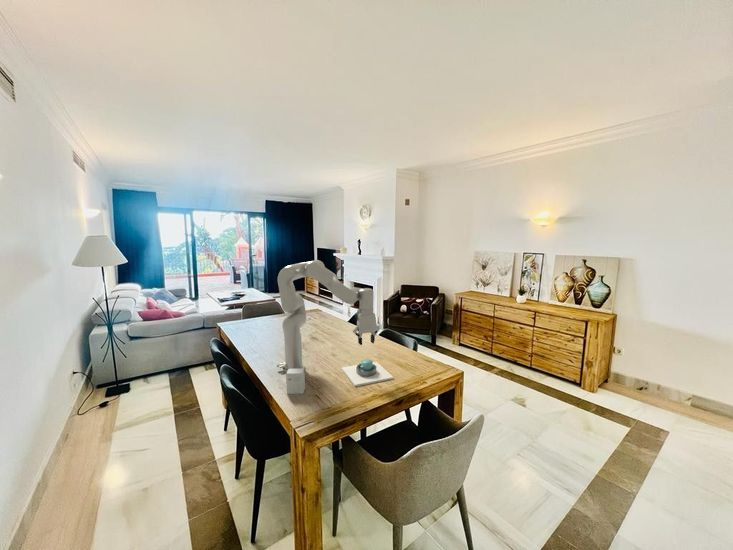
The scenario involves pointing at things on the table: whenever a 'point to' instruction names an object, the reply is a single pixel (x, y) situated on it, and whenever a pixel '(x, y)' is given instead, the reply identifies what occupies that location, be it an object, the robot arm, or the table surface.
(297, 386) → the small box
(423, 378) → the table surface
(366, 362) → the teal bumpy cylinder
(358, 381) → the mount plate
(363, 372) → the dark grey round dish
